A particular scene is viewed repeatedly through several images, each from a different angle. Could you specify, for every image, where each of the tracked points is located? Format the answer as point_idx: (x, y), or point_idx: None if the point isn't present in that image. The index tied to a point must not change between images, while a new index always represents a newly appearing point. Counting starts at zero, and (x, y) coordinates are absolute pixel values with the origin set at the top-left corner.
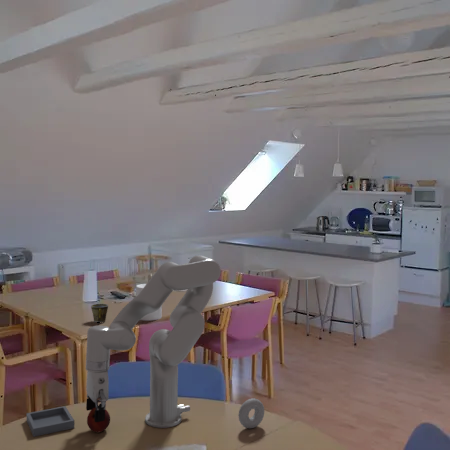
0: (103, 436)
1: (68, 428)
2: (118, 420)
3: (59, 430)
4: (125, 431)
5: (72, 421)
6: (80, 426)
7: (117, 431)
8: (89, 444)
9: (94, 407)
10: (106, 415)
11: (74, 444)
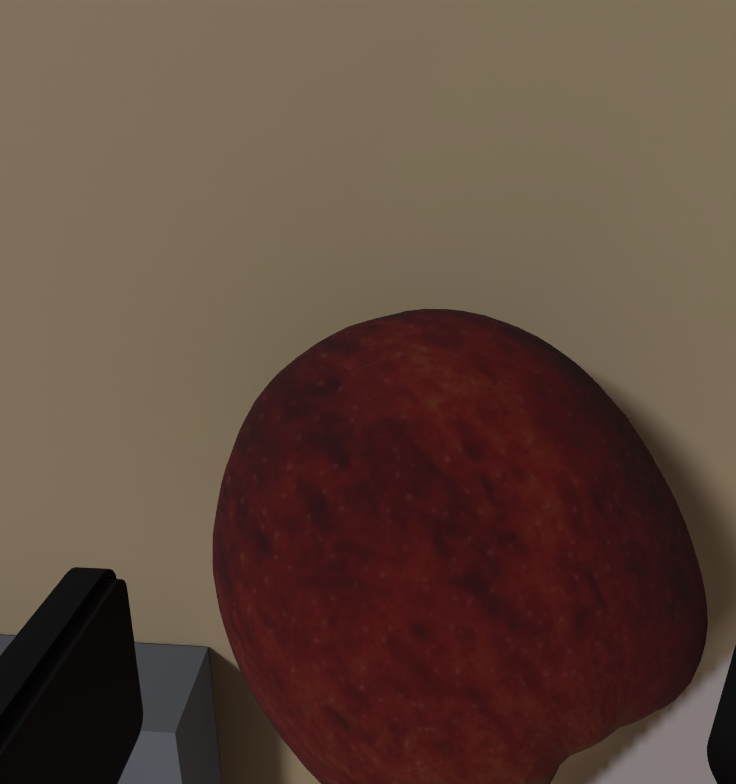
0: (641, 438)
1: (209, 707)
2: (218, 13)
3: (218, 779)
4: (723, 60)
5: (180, 743)
6: (192, 583)
7: (627, 196)
8: (724, 635)
9: (107, 626)
10: (660, 528)
11: (608, 744)
